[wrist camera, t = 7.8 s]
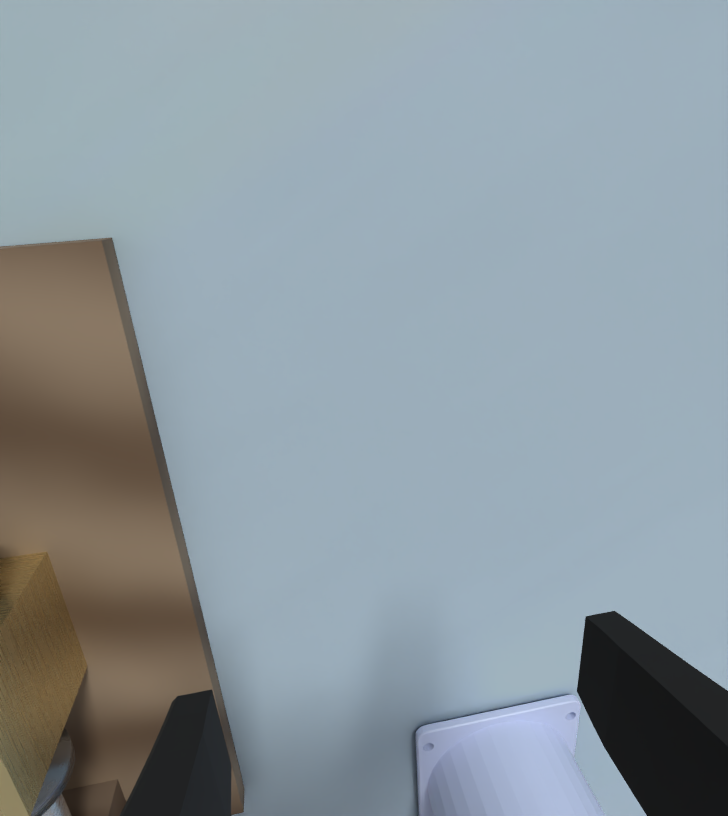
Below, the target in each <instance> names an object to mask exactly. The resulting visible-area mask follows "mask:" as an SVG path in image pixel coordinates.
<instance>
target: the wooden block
mask: <svg viewBox="0 0 728 816" xmlns="http://www.w3.org/2000/svg"><path fill="white" fill-rule="evenodd" d="M86 669H87V663H86V660H85V657H84V655H83V652H82V649H81V646H80V643H79V640H78V638H77V635H76V632H75V629H74V626H73V623H72V621H71V618H70V615H69V612H68V609H67V606H66V604H65V601H64V598H63V595H62V592H61V590H60V587H59V584H58V581H57V578H56V575H55V573H54V570H53V567H52V564H51V561H50V558H49V556H48V553H47V552H41V553H34V554H27V555H20V556H13V557H6V558H0V816H31V813H32V811H33V808H34V806H35V803H36V800H37V798H38V795H39V792H40V790H41V787H42V785H43V782H44V779H45V777H46V774H47V771H48V769H49V766H50V764H51V761H52V758H53V756H54V753H55V750H56V748H57V745H58V743H59V740H60V737H61V735H62V732H63V729H64V727H65V724H66V722H67V719H68V716H69V714H70V711H71V708H72V706H73V703H74V701H75V698H76V695H77V693H78V690H79V687H80V685H81V682H82V680H83V677H84V674H85V672H86Z"/></svg>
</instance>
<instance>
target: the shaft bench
mask: <svg viewBox="0 0 728 816" xmlns="http://www.w3.org/2000/svg"><path fill="white" fill-rule="evenodd" d="M41 552H47V553H48V556H49V558H50V561H51V564H52V567H53V570H54V573H55V575H56V578H57V581H58V584H59V587H60V590H61V592H62V595H63V598H64V601H65V604H66V606H67V609H68V612H69V615H70V618H71V621H72V623H73V626H74V629H75V632H76V635H77V638H78V640H79V643H80V646H81V649H82V652H83V655H84V657H85V660H86V663H87V669H86V672H85V674H84V677H83V680H82V682H81V685H80V687H79V690H78V693H77V695H76V698H75V701H74V703H73V706H72V708H71V711H70V714H69V716H68V719H67V722H66V724H65V729H66V730H67V732H68V734H69V736H70V739H71V741H72V744H73V746H74V750H75V764H74V768H73V772H72V774H71V777H70V779H69V781H68V783H67V785H66V787H65V788H64V790H63V792H62V795H63V797H64V799H65V802H66V804H67V806H68V808H69V811H70V813H71V815H72V816H120V814H121V812H122V810H123V808H124V806H125V804H126V802H127V800H128V798H129V796H130V794H131V792H132V790H133V788H134V786H135V784H136V782H137V780H138V777H139V775H140V773H141V771H142V769H143V767H144V765H145V763H146V761H147V758H148V756H149V754H150V752H151V750H152V748H153V745H154V743H155V741H156V739H157V736H158V734H159V732H160V729H161V727H162V725H163V723H164V720H165V718H166V716H167V713H168V711H169V708H170V706H171V703H172V702H173V700H174V699H175V698H176V697H177V696H181V695H186V694H191V693H196V692H201V691H206V690H211V689H212V691H213V695H214V699H215V703H216V707H217V711H218V714H219V718H220V722H221V726H222V730H223V734H224V738H225V742H226V746H227V750H228V754H229V757H230V761H231V815H233V814H238V813H242V812H244V785H243V781H242V777H241V772H240V768H239V764H238V760H237V756H236V752H235V747H234V743H233V739H232V735H231V731H230V727H229V722H228V718H227V714H226V710H225V706H224V702H223V698H222V693H221V689H220V685H219V681H218V677H217V673H216V668H215V664H214V660H213V656H212V652H211V648H210V644H209V639H208V635H207V631H206V627H205V623H204V619H203V614H202V610H201V606H200V602H199V598H198V594H197V590H196V585H195V581H194V577H193V573H192V569H191V565H190V560H189V556H188V552H187V548H186V544H185V540H184V535H183V531H182V527H181V523H180V519H179V515H178V511H177V506H176V502H175V498H174V494H173V490H172V486H171V481H170V477H169V473H168V469H167V465H166V461H165V457H164V452H163V448H162V444H161V440H160V436H159V432H158V427H157V423H156V419H155V415H154V411H153V407H152V402H151V398H150V394H149V390H148V386H147V382H146V378H145V373H144V369H143V365H142V361H141V357H140V353H139V348H138V344H137V340H136V336H135V332H134V328H133V324H132V319H131V315H130V311H129V307H128V303H127V299H126V294H125V290H124V286H123V282H122V278H121V274H120V270H119V265H118V261H117V257H116V253H115V249H114V245H113V240H112V238H102V239H90V240H77V241H65V242H52V243H40V244H28V245H15V246H3V247H0V558H6V557H13V556H20V555H27V554H34V553H41Z"/></svg>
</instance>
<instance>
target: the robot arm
mask: <svg viewBox="0 0 728 816" xmlns="http://www.w3.org/2000/svg"><path fill="white" fill-rule="evenodd" d="M577 692H578V694H579V696H580V698H581V701H582V703H583V705H584V707H585V709H586V711H587V713H588V715H589V717H590V720H591V722H592V724H593V726H594V728H595V730H596V731H597V733H598V735H599V737H600V739H601V741H602V743H603V745H604V747H605V749H606V750H607V752H608V754H609V755H610V757H611V759H612V760H613V762H614V764H615V765H616V767H617V768H618V770H619V772H620V773H621V775H622V776H623V778H624V780H625V781H626V783H627V785H628V786H629V788H630V789H631V791H632V793H633V794H634V796H635V797H636V799H637V801H638V802H639V804H640V805H641V807H642V808H643V810H644V812H645V813H646V815H647V816H728V691H727V690H726V689H724V688H723V687H721V686H720V685H718V684H717V683H715V682H714V681H712V680H711V679H710V678H708V677H707V676H705V675H704V674H702V673H701V672H700V671H698V670H697V669H695V668H694V667H692V666H691V665H690V664H688V663H687V662H685V661H684V660H683V659H681V658H680V657H678V656H677V655H676V654H674V653H673V652H671V651H670V650H669V649H667V648H666V647H665V646H663V645H662V644H660V643H659V642H658V641H656V640H655V639H653V638H652V637H651V636H649V635H648V634H646V633H645V632H644V631H642V630H641V629H639V628H638V627H637V626H635V625H634V624H633V623H631V622H630V621H628V620H627V619H625V618H624V617H623V616H621V615H620V614H618V613H617V612H615V611H612V612H607V613H601V614H596V615H591V616H586V620H585V628H584V637H583V645H582V654H581V662H580V670H579V679H578V687H577ZM580 708H581V704H580V702H579V700H578V699H577V697H576V696H574V695H565V696H560V697H555V698H551V699H546V700H541V701H536V702H532V703H527V704H522V705H518V706H513V707H508V708H503V709H499V710H494V711H489V712H484V713H480V714H475V715H470V716H465V717H461V718H456V719H451V720H447V721H442V722H437V723H432V724H428V725H424V726H421V727H420V728H419V729H418V730H417V731H416V735H415V736H416V759H417V782H418V805H419V816H606V815H605V813H604V812H603V810H602V808H601V806H600V804H599V802H598V801H597V799H596V797H595V795H594V793H593V791H592V790H591V788H590V786H589V784H588V782H587V780H586V779H585V777H584V775H583V773H582V771H581V769H580V768H579V766H578V764H577V762H576V760H575V758H574V755H575V747H576V739H577V731H578V724H579V716H580ZM120 816H231V761H230V757H229V754H228V750H227V746H226V742H225V738H224V734H223V730H222V726H221V722H220V718H219V714H218V711H217V707H216V703H215V699H214V695H213V691H212V689H211V690H206V691H201V692H196V693H191V694H186V695H181V696H177V697H176V698H175V699H174V700H173V702H172V703H171V706H170V708H169V711H168V713H167V716H166V718H165V720H164V723H163V725H162V727H161V729H160V732H159V734H158V736H157V739H156V741H155V743H154V745H153V748H152V750H151V752H150V754H149V756H148V758H147V761H146V763H145V765H144V767H143V769H142V771H141V773H140V775H139V777H138V780H137V782H136V784H135V786H134V788H133V790H132V792H131V794H130V796H129V798H128V800H127V802H126V804H125V806H124V808H123V810H122V812H121V814H120Z"/></svg>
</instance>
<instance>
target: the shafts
mask: <svg viewBox="0 0 728 816" xmlns="http://www.w3.org/2000/svg"><path fill="white" fill-rule="evenodd" d="M74 764H75V750H74V746H73V744H72V741H71V739H70V736H69V734H68V732H67V730H66V729H65V727H64V729H63V732H62V735H61V737H60V740H59V743H58V745H57V748H56V750H55V753H54V756H53V758H52V761H51V764H50V766H49V769H48V771H47V774H46V777H45V779H44V782H43V785H42V787H41V790H40V792H39V795H38V798H37V800H36V803H35V806H34V808H33V811H32V813H31V816H72V815H71V813H70V811H69V808H68V806H67V804H66V802H65V799H64V797H63V795H62V792H63V790H64V788H65V787H66V785H67V783H68V781H69V779H70V777H71V774H72V772H73V768H74Z"/></svg>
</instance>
